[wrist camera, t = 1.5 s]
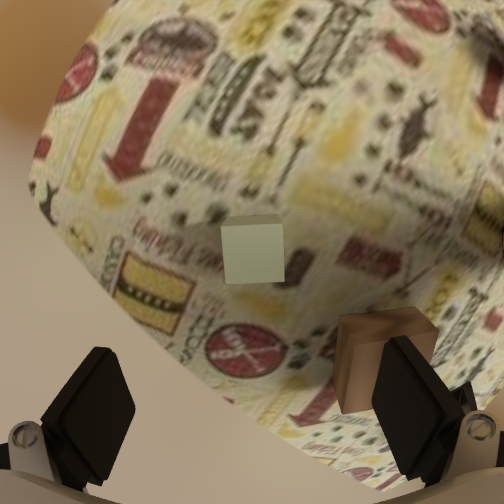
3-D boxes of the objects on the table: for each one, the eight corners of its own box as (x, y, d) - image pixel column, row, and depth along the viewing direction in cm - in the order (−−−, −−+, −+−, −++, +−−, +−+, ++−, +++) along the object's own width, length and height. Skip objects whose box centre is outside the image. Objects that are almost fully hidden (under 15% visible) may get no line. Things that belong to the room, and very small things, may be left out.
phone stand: (425, 423, 37) (450, 470, 26) (427, 403, 36) (457, 454, 24) (465, 401, 36) (494, 442, 25) (469, 380, 35) (503, 423, 23)
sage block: (278, 214, 28) (282, 223, 23) (280, 263, 29) (284, 281, 25) (226, 216, 28) (220, 226, 23) (230, 265, 30) (225, 284, 25)
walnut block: (415, 306, 31) (439, 330, 25) (400, 370, 33) (417, 398, 28) (339, 315, 31) (354, 345, 25) (331, 382, 34) (342, 414, 28)
